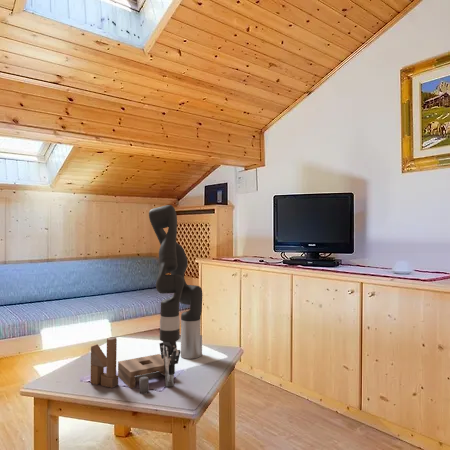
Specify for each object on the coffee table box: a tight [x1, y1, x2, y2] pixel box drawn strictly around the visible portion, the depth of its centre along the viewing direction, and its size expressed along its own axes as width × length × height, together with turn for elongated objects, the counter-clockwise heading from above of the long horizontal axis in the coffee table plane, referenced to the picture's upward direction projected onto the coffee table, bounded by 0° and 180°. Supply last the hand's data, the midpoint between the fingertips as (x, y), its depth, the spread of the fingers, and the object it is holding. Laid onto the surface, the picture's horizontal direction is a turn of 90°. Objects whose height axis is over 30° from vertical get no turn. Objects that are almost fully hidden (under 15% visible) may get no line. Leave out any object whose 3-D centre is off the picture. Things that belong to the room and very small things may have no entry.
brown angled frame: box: [90, 336, 119, 389], centre depth 149 cm, size 4×11×18 cm, turn 65°
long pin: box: [164, 355, 175, 388], centre depth 147 cm, size 3×3×11 cm
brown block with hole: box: [117, 353, 165, 389], centre depth 156 cm, size 18×14×6 cm
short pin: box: [139, 376, 150, 395], centre depth 141 cm, size 3×3×5 cm
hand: (169, 372), depth 147 cm, fingers closed on long pin, 3 cm apart
